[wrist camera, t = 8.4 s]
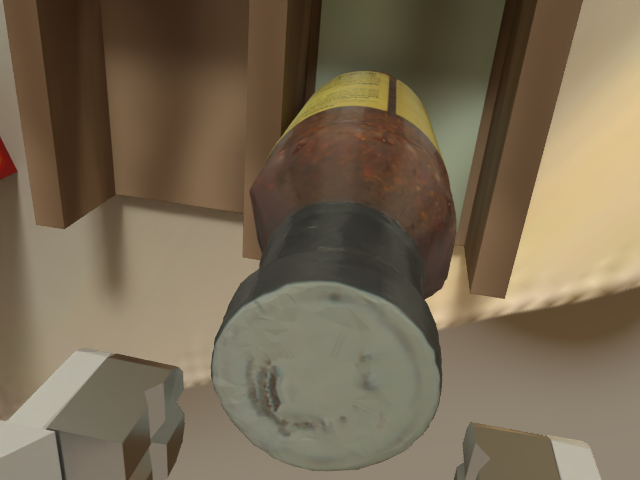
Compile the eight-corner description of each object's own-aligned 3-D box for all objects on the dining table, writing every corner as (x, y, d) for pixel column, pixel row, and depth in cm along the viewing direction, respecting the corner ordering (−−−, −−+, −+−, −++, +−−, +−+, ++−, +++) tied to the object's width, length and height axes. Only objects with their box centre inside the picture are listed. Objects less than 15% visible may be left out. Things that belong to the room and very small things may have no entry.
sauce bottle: (284, 160, 29) (71, 425, 11) (336, 42, 26) (171, 127, 8) (399, 215, 29) (383, 568, 11) (462, 104, 26) (574, 323, 8)
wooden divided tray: (98, 185, 33) (36, 224, 28) (70, -116, 26) (-18, -139, 21) (491, 243, 30) (504, 298, 25) (568, -78, 24) (607, -93, 18)
